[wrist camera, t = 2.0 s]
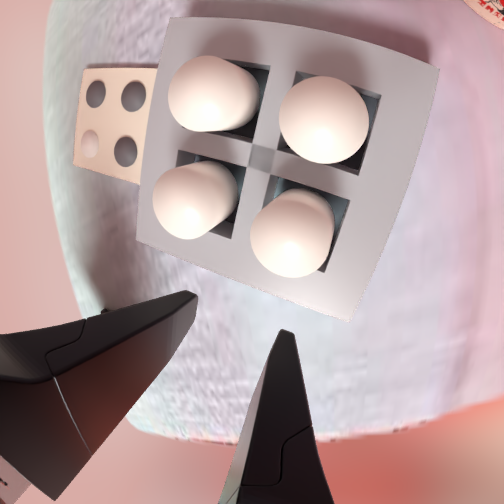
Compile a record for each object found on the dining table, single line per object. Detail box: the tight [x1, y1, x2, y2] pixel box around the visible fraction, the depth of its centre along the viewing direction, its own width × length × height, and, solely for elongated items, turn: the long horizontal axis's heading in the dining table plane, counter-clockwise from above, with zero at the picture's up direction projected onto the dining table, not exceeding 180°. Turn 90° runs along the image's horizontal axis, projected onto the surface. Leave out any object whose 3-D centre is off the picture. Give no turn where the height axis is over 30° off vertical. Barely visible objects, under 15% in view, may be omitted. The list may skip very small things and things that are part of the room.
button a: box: [250, 188, 335, 278], centre depth 16 cm, size 4×4×3 cm
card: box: [73, 68, 157, 185], centre depth 21 cm, size 9×9×1 cm
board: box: [136, 17, 440, 323], centre depth 17 cm, size 16×16×2 cm
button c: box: [279, 76, 369, 164], centre depth 13 cm, size 4×4×3 cm
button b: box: [152, 160, 238, 239], centre depth 17 cm, size 4×4×3 cm
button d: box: [168, 56, 261, 132], centre depth 15 cm, size 4×4×3 cm
